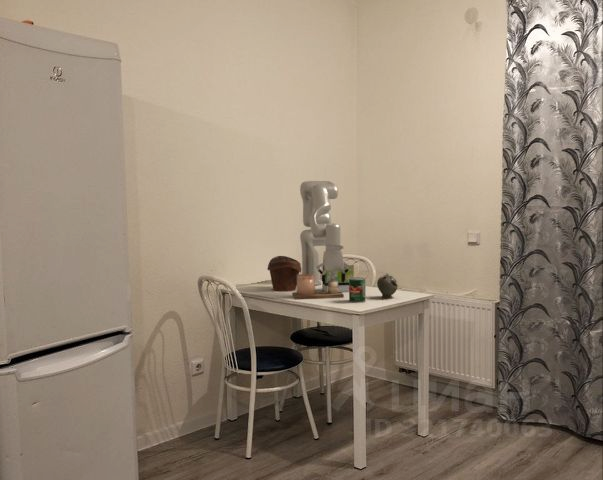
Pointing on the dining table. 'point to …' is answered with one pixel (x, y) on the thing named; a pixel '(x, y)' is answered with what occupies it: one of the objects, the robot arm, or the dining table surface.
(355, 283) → the canned tomato
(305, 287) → the jar
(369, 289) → the dining table surface
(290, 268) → the case
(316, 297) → the board
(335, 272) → the coffee box
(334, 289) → the stopper
